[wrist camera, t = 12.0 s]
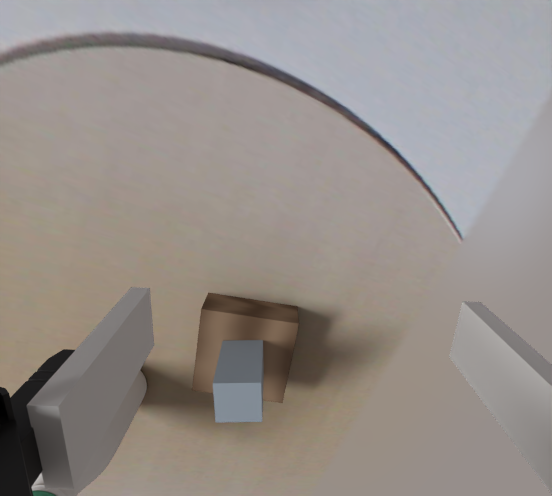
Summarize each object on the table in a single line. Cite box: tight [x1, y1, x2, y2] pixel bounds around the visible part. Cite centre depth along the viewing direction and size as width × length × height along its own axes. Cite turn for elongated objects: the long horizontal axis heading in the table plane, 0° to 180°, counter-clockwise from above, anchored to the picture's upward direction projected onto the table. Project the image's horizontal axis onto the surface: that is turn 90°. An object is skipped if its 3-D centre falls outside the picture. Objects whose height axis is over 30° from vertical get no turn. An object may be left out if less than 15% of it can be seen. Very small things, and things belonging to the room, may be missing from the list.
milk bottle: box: [32, 371, 147, 496], centre depth 43 cm, size 8×8×20 cm
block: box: [213, 340, 264, 422], centre depth 42 cm, size 5×5×8 cm
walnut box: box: [192, 293, 299, 403], centre depth 48 cm, size 12×12×5 cm
